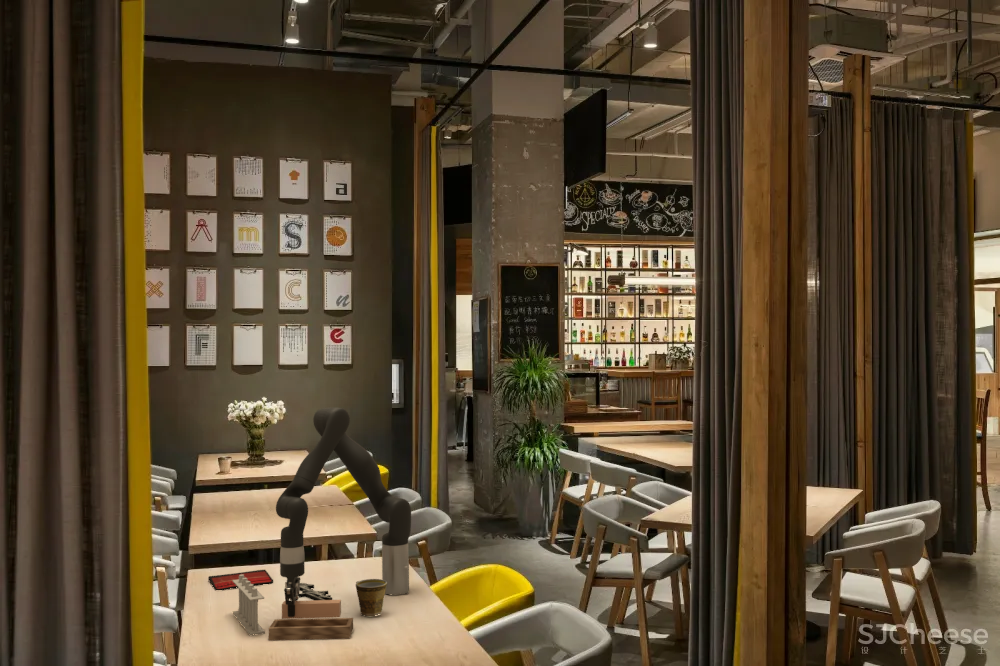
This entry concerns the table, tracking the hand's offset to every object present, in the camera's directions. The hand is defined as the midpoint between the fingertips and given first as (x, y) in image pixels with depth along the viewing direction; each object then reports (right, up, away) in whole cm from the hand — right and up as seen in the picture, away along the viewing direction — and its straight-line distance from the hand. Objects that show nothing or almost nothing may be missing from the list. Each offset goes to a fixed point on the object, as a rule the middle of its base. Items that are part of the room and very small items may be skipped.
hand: (292, 614), depth 280 cm
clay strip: (+6, -1, 0) cm, 6 cm away
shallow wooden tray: (+9, -2, -12) cm, 15 cm away
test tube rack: (-14, -3, 0) cm, 14 cm away
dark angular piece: (-1, -3, +31) cm, 31 cm away
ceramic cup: (+23, -3, +9) cm, 25 cm away
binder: (-30, -4, +47) cm, 56 cm away
